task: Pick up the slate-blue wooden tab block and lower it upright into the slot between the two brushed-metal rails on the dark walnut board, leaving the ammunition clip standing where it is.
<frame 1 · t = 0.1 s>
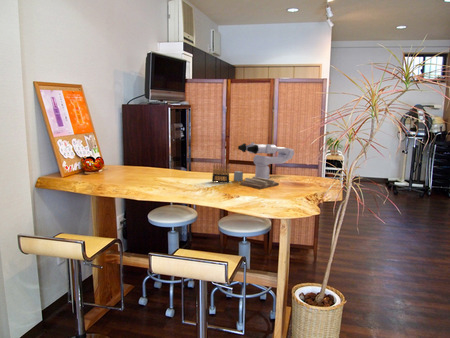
hand: (243, 148, 234), 22 cm above the table, tool horizontal, fingers open, 7 cm apart
notched board: (259, 184, 232), on the table
tab block: (238, 181, 241), on the table
ammunition clip: (220, 182, 235), on the table
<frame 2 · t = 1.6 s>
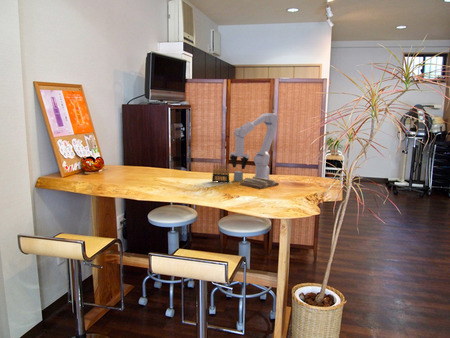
hand: (238, 168, 240), 8 cm above the table, tool pointing down, fingers open, 7 cm apart
nothing on the table moved.
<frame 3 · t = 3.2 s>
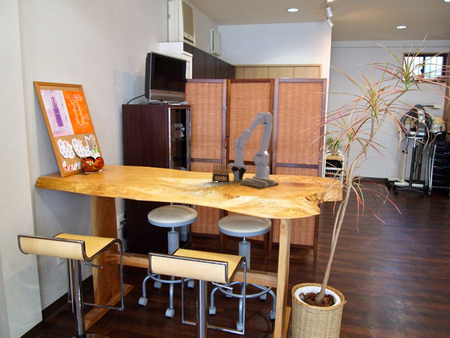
hand: (238, 178, 241), 1 cm above the table, tool pointing down, fingers closed on tab block, 4 cm apart
tab block: (238, 180, 241), on the table, touching gripper
everything else where it was.
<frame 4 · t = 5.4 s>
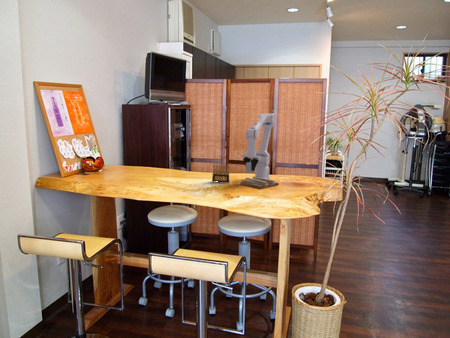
hand: (250, 169, 234), 8 cm above the table, tool pointing down, fingers closed on tab block, 4 cm apart
tab block: (250, 172, 235), point 7 cm above the table, touching gripper
everything else where it was.
when the fingers open (4 cm above the table, at t = 7.9 s): tab block stays where it is, resting on notched board.
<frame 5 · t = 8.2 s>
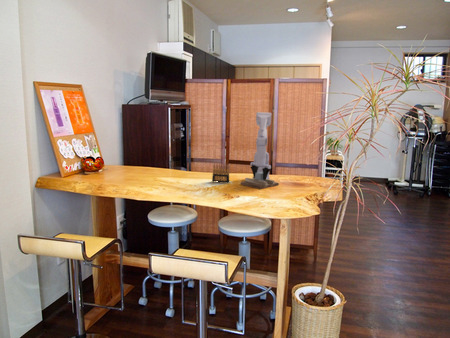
hand: (259, 178, 231), 4 cm above the table, tool pointing down, fingers open, 7 cm apart
tab block: (259, 182, 231), point 1 cm above the table, touching notched board
everything else where it was.
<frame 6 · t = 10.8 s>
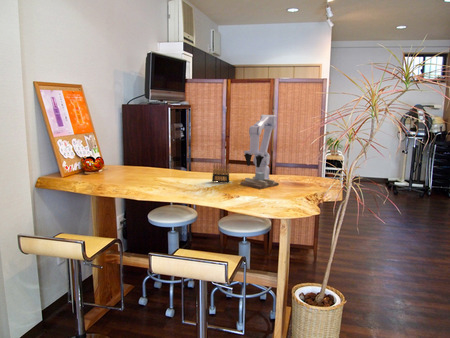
hand: (253, 166, 236), 10 cm above the table, tool pointing down, fingers open, 7 cm apart
nothing on the table moved.
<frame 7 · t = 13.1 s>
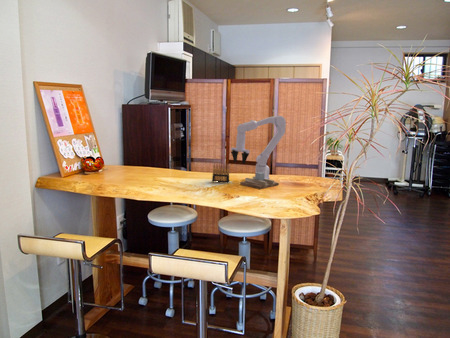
hand: (239, 162, 249), 10 cm above the table, tool pointing down, fingers open, 7 cm apart
nothing on the table moved.
at the end: tab block 0.1 cm off-centre on the notched board, point 1.5 cm above the notched board's base; tab block tilted 0°; the gripper is holding nothing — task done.
